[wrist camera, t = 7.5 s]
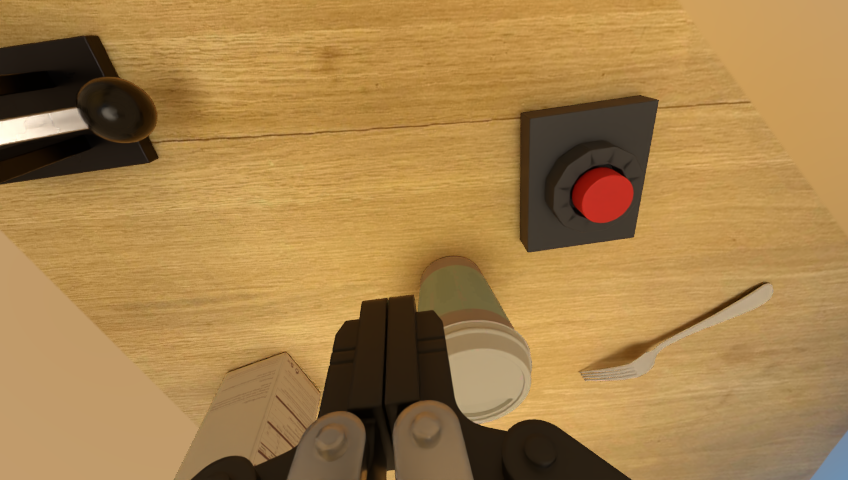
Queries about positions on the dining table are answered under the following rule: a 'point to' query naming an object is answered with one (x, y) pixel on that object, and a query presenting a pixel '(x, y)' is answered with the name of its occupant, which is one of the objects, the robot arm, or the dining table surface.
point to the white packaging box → (254, 415)
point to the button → (602, 194)
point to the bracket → (50, 90)
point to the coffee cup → (477, 340)
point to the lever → (90, 115)
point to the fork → (648, 358)
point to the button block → (580, 167)
